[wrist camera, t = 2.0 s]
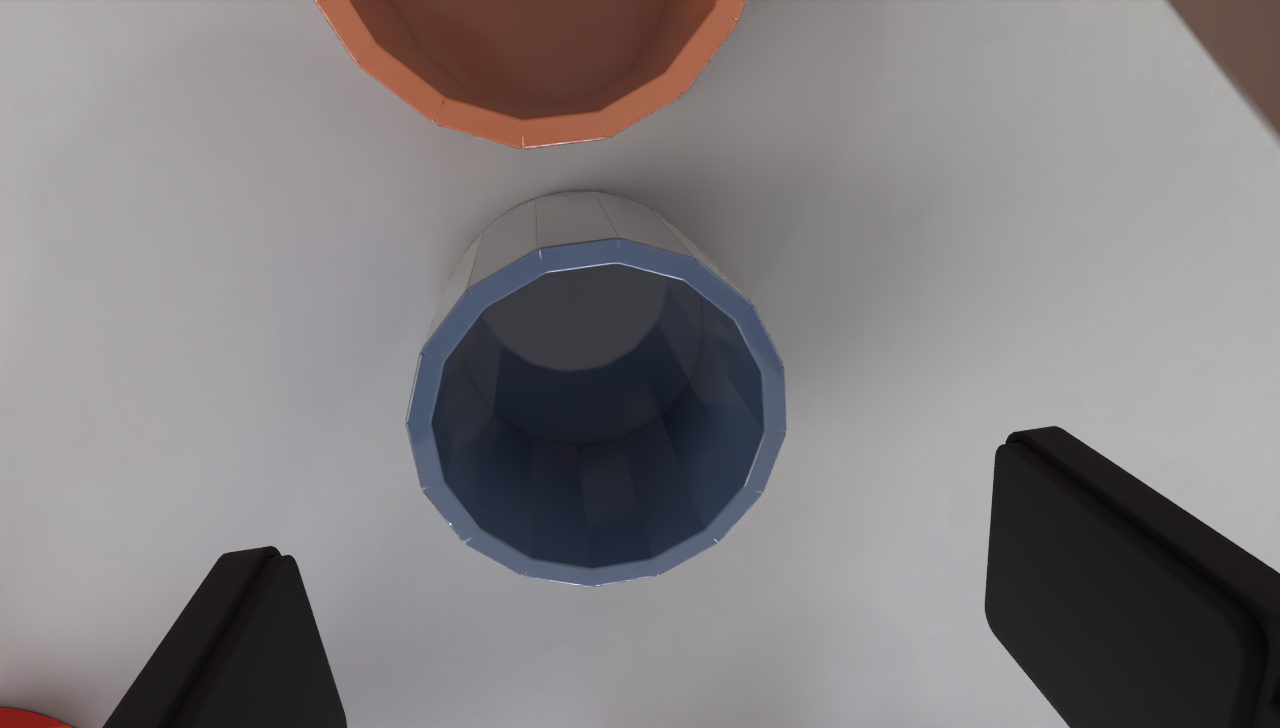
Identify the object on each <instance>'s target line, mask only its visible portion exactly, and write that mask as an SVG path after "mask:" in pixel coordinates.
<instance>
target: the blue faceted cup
mask: <svg viewBox="0 0 1280 728" xmlns="http://www.w3.org/2000/svg"><path fill="white" fill-rule="evenodd" d="M406 428H407V432H408V436H409V441H410V445H411V449H412V453H413V457H414V461H415V465H416V469H417V473H418V478H419V482H420V486H421V488H422V489H423V492H424V494H425V495H426V496H427V497H428V499H429V500H430V501H431V502H432V504H433V505H434V506H435V507H436V509H437V510H438V511H439V513H440V514H441V515H442V516H443V518H444V519H445V520H446V521H447V523H448V524H449V525H450V526H451V528H452V529H453V530H454V532H455V533H456V534H457V535H458V537H459V538H460V539H461V540H462V542H465V544H466V545H468V546H469V547H471V548H473V549H475V550H477V551H478V552H480V553H482V554H484V555H485V556H487V557H489V558H491V559H493V560H494V561H496V562H498V563H500V564H501V565H503V566H505V567H507V568H509V569H510V570H512V571H514V572H516V573H518V574H519V575H522V576H523V575H524V576H525V577H529V578H535V579H541V580H547V581H554V582H560V583H566V584H573V585H579V586H585V587H590V586H592V587H595V586H601V585H607V584H613V583H618V582H624V581H630V580H636V579H642V578H647V577H653V576H657V574H659V575H660V574H662V573H664V572H666V571H668V570H670V569H671V568H673V567H675V566H677V565H679V564H681V563H682V562H684V561H686V560H688V559H690V558H692V557H694V556H695V555H697V554H699V553H701V552H703V551H705V550H706V549H708V548H710V547H712V546H714V545H716V544H717V542H719V541H720V540H721V539H722V538H723V537H724V536H725V535H726V534H727V533H728V532H729V530H730V529H731V528H732V527H733V526H734V525H735V524H736V523H737V522H738V521H739V519H740V518H741V517H742V516H743V515H744V514H745V513H746V512H747V511H748V510H749V508H750V507H751V506H752V505H753V504H754V503H755V502H756V501H757V500H758V498H759V497H760V496H761V495H762V493H763V492H764V489H765V487H766V484H767V481H768V479H769V476H770V474H771V471H772V469H773V466H774V463H775V461H776V458H777V456H778V453H779V450H780V448H781V445H782V443H783V440H784V437H785V435H786V432H785V431H786V402H785V374H784V366H783V362H782V360H781V358H780V356H779V354H778V352H777V350H776V348H775V346H774V344H773V342H772V340H771V338H770V336H769V334H768V332H767V330H766V328H765V326H764V324H763V322H762V320H761V318H760V316H759V314H758V312H757V310H756V308H755V306H754V305H753V304H752V303H751V301H750V300H749V299H748V298H747V297H746V296H745V295H744V294H743V293H742V292H741V291H740V290H739V289H738V288H737V287H736V286H735V285H734V284H733V283H732V282H731V281H730V280H729V279H728V278H727V277H726V276H725V275H724V274H723V273H722V272H721V271H720V270H719V269H718V268H717V267H716V266H715V265H714V263H713V262H712V261H711V260H710V259H709V258H708V257H707V256H706V255H705V254H704V253H703V252H702V251H701V250H700V249H699V248H698V247H697V246H696V245H695V244H694V243H693V242H692V241H691V240H689V239H688V238H687V237H686V236H685V235H683V234H682V233H681V232H680V231H678V230H677V229H676V228H675V227H674V226H673V225H672V224H670V223H669V222H668V221H667V220H666V219H664V218H663V217H661V216H660V215H659V214H657V213H656V212H655V211H653V210H652V209H649V208H648V207H646V206H643V205H641V204H639V203H637V202H635V201H632V200H629V199H626V198H623V197H620V196H616V195H612V194H607V193H602V192H590V191H573V192H561V193H556V194H551V195H546V196H543V197H540V198H537V199H534V200H531V201H528V202H526V203H523V204H521V205H519V206H517V207H515V208H513V209H511V210H510V211H508V212H507V213H505V214H504V215H502V216H501V217H499V218H498V219H496V220H495V221H494V222H492V223H491V224H490V225H489V226H488V227H487V228H486V229H485V230H484V231H482V232H481V233H480V234H479V236H478V237H477V238H476V239H475V240H474V242H473V243H472V244H471V245H470V246H469V248H468V249H467V251H466V252H465V254H464V255H463V257H462V259H461V260H460V262H459V264H458V265H457V267H456V268H455V269H454V271H453V272H452V273H451V276H450V278H449V280H448V283H447V285H446V288H445V290H444V293H443V295H442V298H441V301H440V303H439V306H438V308H437V311H436V313H435V316H434V318H433V321H432V323H431V326H430V328H429V331H428V333H427V336H426V338H425V341H424V343H423V346H422V349H421V351H420V354H419V358H418V363H417V368H416V372H415V377H414V382H413V387H412V391H411V396H410V401H409V406H408V410H407V415H406Z"/></svg>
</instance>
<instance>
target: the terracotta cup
mask: <svg viewBox="0 0 1280 728" xmlns="http://www.w3.org/2000/svg"><path fill="white" fill-rule="evenodd" d="M314 2H315V3H316V5H317V6H318V8H319V9H320V11H321V12H322V14H323V15H324V17H325V19H326V20H327V22H328V23H329V25H330V26H331V28H332V29H333V31H334V32H335V34H336V35H337V37H338V39H339V40H340V42H341V43H342V45H343V46H344V48H345V49H346V51H347V52H348V54H349V56H350V57H351V59H352V60H353V61H354V62H355V63H357V65H358V67H360V68H361V69H362V70H363V71H365V72H366V73H367V74H369V75H370V76H371V77H373V78H374V79H375V80H377V81H378V82H379V83H381V84H382V85H383V86H385V87H386V88H387V89H388V90H390V91H391V92H392V93H394V94H395V95H396V96H398V97H399V98H400V99H402V100H403V101H404V102H406V103H407V104H408V105H410V106H411V107H412V108H413V109H415V110H416V111H417V112H419V113H420V114H421V115H423V116H424V117H425V118H427V119H428V120H429V121H431V122H433V123H436V124H437V125H438V126H442V127H445V128H449V129H452V130H456V131H459V132H462V133H466V134H469V135H473V136H476V137H480V138H483V139H487V140H490V141H494V142H497V143H501V144H504V145H508V146H511V147H515V148H518V149H519V148H524V149H530V148H538V147H547V146H555V145H563V144H571V143H580V142H588V141H596V140H604V139H606V138H607V137H608V138H610V137H612V136H614V135H616V134H617V133H619V132H621V131H623V130H624V129H626V128H628V127H629V126H631V125H633V124H635V123H636V122H638V121H640V120H641V119H643V118H645V117H647V116H648V115H650V114H652V113H653V112H655V111H657V110H659V109H660V108H662V107H664V106H665V105H667V104H669V103H671V102H672V101H674V100H676V99H677V98H679V97H680V96H681V94H683V93H685V92H686V90H687V89H688V88H689V87H690V85H691V84H692V83H693V81H694V80H695V79H696V77H697V76H698V75H699V74H700V72H701V71H702V70H703V68H704V67H705V66H706V64H707V63H708V62H709V61H710V59H711V58H712V57H713V55H714V54H715V53H716V51H717V50H718V49H719V47H720V46H721V45H722V44H723V42H724V41H725V40H726V38H727V37H728V36H729V34H730V33H731V32H732V31H733V29H734V28H735V27H736V25H737V21H738V20H739V19H740V17H741V13H742V10H743V7H744V4H745V0H314Z"/></svg>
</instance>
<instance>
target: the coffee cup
mask: <svg viewBox="0 0 1280 728" xmlns="http://www.w3.org/2000/svg"><path fill="white" fill-rule="evenodd" d="M0 728H72V727H70V726H69V725H67V724H64V723H62V722H60V721H58V720H55V719H53V718H50V717H47V716H44V715H41V714H37V713H34V712H29V711H24V710H19V709H11V708H0Z"/></svg>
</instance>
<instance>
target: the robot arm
mask: <svg viewBox="0 0 1280 728" xmlns="http://www.w3.org/2000/svg"><path fill="white" fill-rule="evenodd" d="M985 613H986V618H987V621H988V624H989V626H990V628H991V630H992V632H993V633H994V635H995V636H996V637H997V639H998V640H999V641H1000V642H1001V644H1002V645H1003V646H1004V647H1005V648H1006V650H1007V651H1008V652H1009V653H1010V655H1011V656H1012V657H1013V658H1014V660H1015V661H1016V662H1017V663H1018V664H1019V666H1020V667H1021V668H1022V669H1023V671H1024V672H1025V673H1026V674H1027V675H1028V677H1029V678H1030V679H1031V680H1032V682H1033V683H1034V684H1035V685H1036V686H1037V688H1038V689H1039V690H1040V691H1041V693H1042V694H1043V695H1044V696H1045V697H1046V699H1047V700H1048V701H1049V702H1050V704H1051V705H1052V706H1053V707H1054V709H1055V710H1056V711H1057V712H1058V713H1059V715H1060V716H1061V717H1062V718H1063V720H1064V721H1065V722H1066V723H1067V724H1068V726H1069V727H1070V728H1280V573H1278V572H1277V571H1275V570H1274V569H1272V568H1271V567H1269V566H1268V565H1266V564H1265V563H1263V562H1262V561H1260V560H1259V559H1257V558H1256V557H1254V556H1253V555H1251V554H1250V553H1248V552H1247V551H1245V550H1244V549H1242V548H1241V547H1239V546H1238V545H1236V544H1235V543H1233V542H1232V541H1230V540H1229V539H1227V538H1226V537H1224V536H1223V535H1221V534H1220V533H1218V532H1217V531H1215V530H1214V529H1212V528H1211V527H1209V526H1208V525H1206V524H1205V523H1203V522H1202V521H1200V520H1199V519H1197V518H1196V517H1194V516H1193V515H1191V514H1190V513H1188V512H1187V511H1185V510H1184V509H1182V508H1181V507H1179V506H1178V505H1176V504H1175V503H1173V502H1172V501H1170V500H1169V499H1167V498H1166V497H1164V496H1163V495H1161V494H1160V493H1158V492H1157V491H1155V490H1154V489H1152V488H1151V487H1149V486H1148V485H1146V484H1145V483H1143V482H1142V481H1140V480H1139V479H1137V478H1136V477H1134V476H1133V475H1131V474H1130V473H1128V472H1127V471H1125V470H1124V469H1122V468H1121V467H1119V466H1118V465H1116V464H1115V463H1113V462H1112V461H1110V460H1109V459H1107V458H1106V457H1104V456H1103V455H1101V454H1100V453H1098V452H1097V451H1095V450H1094V449H1092V448H1090V447H1089V446H1087V445H1086V444H1084V443H1083V442H1081V441H1080V440H1078V439H1077V438H1075V437H1074V436H1072V435H1071V434H1069V433H1068V432H1066V431H1065V430H1063V429H1062V428H1059V427H1057V426H1051V427H1044V428H1038V429H1031V430H1024V431H1018V432H1013V433H1012V434H1010V435H1009V436H1008V438H1007V440H1006V443H1005V444H1003V445H1001V446H999V447H998V449H997V451H996V455H995V466H994V480H993V494H992V508H991V523H990V537H989V551H988V565H987V579H986V594H985ZM103 728H347V723H346V717H345V713H344V709H343V706H342V703H341V700H340V697H339V694H338V691H337V688H336V684H335V681H334V678H333V675H332V672H331V669H330V666H329V662H328V659H327V656H326V653H325V650H324V647H323V644H322V641H321V637H320V634H319V631H318V628H317V625H316V622H315V619H314V616H313V612H312V609H311V606H310V603H309V600H308V597H307V594H306V590H305V587H304V584H303V581H302V578H301V575H300V572H299V569H298V566H297V563H296V561H295V559H294V558H293V557H292V556H290V555H285V556H281V554H280V552H279V551H278V550H277V548H275V547H273V546H268V547H262V548H255V549H249V550H242V551H236V552H229V553H225V554H223V555H222V556H221V557H220V558H219V559H218V560H217V562H216V563H215V565H214V566H213V568H212V569H211V571H210V572H209V574H208V575H207V576H206V578H205V579H204V581H203V582H202V584H201V585H200V587H199V588H198V590H197V591H196V592H195V594H194V595H193V597H192V598H191V600H190V601H189V603H188V604H187V606H186V607H185V608H184V610H183V611H182V613H181V614H180V616H179V617H178V619H177V620H176V622H175V623H174V624H173V626H172V627H171V629H170V630H169V632H168V633H167V635H166V636H165V638H164V639H163V640H162V642H161V643H160V645H159V646H158V648H157V649H156V651H155V652H154V653H153V655H152V656H151V658H150V659H149V661H148V662H147V664H146V665H145V667H144V668H143V669H142V671H141V672H140V674H139V675H138V677H137V678H136V680H135V681H134V683H133V684H132V685H131V687H130V688H129V690H128V691H127V693H126V694H125V696H124V697H123V699H122V700H121V701H120V703H119V704H118V706H117V707H116V709H115V710H114V712H113V713H112V715H111V716H110V717H109V719H108V720H107V722H106V723H105V725H104V726H103Z"/></svg>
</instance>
